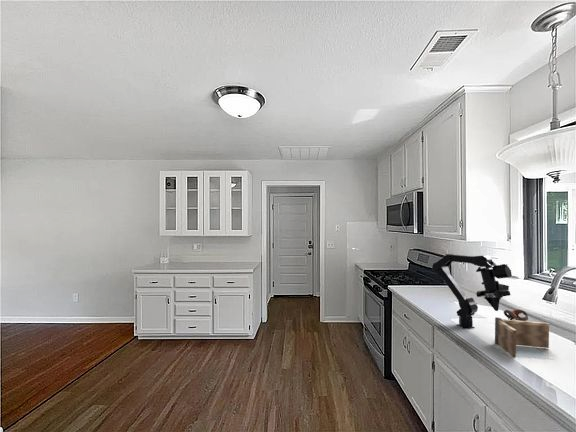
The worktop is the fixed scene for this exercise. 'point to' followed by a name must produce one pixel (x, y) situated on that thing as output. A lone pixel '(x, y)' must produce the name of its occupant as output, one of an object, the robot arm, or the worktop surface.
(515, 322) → the fence swing panel
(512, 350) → the panel
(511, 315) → the pottery mug
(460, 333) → the worktop surface
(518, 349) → the card
